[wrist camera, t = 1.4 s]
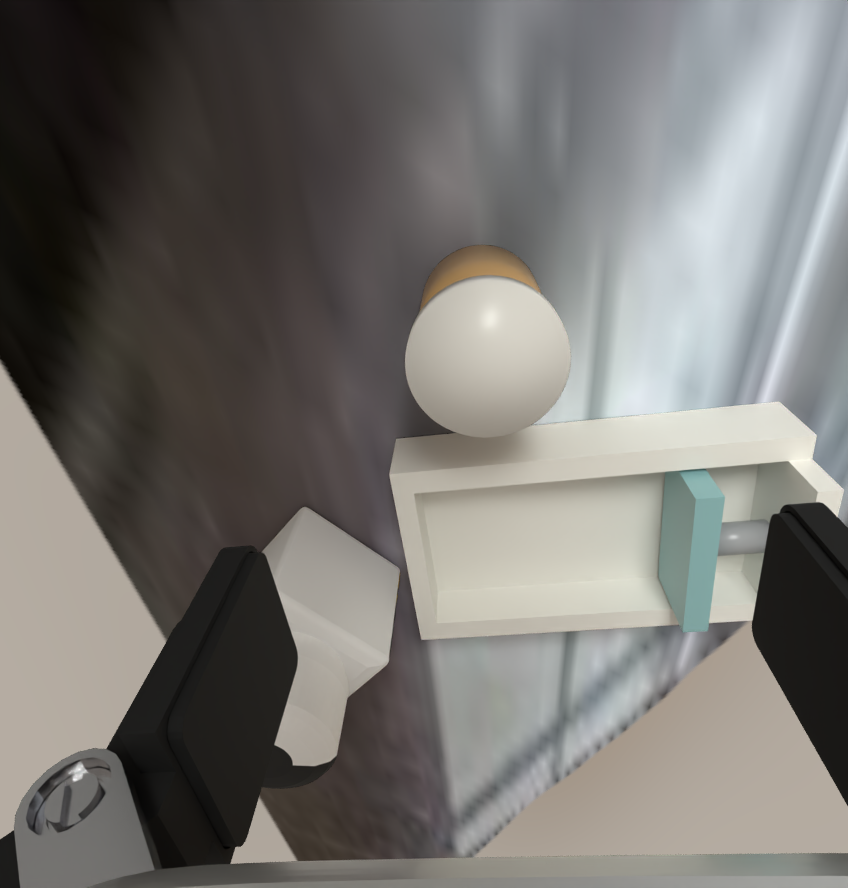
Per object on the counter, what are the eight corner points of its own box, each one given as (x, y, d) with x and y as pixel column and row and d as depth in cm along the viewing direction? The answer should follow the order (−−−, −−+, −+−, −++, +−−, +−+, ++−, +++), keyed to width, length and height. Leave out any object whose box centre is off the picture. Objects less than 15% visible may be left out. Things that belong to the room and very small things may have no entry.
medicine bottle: (334, 631, 38) (287, 826, 28) (239, 574, 36) (150, 761, 26) (403, 567, 35) (380, 759, 25) (304, 502, 33) (234, 680, 23)
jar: (409, 249, 26) (392, 293, 20) (540, 231, 26) (569, 271, 19) (426, 370, 29) (417, 444, 22) (545, 357, 28) (572, 429, 22)
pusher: (666, 451, 29) (696, 499, 25) (758, 443, 29) (801, 490, 25) (658, 576, 33) (682, 632, 29) (739, 570, 32) (774, 627, 29)
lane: (396, 438, 31) (383, 504, 26) (778, 401, 29) (850, 465, 24) (424, 595, 36) (418, 677, 31) (750, 573, 34) (803, 656, 29)
